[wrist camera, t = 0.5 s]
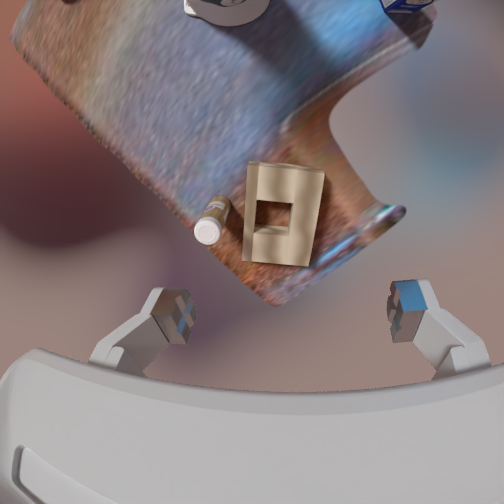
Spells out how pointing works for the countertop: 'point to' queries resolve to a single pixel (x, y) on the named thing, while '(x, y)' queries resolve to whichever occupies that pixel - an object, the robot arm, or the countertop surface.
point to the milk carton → (404, 5)
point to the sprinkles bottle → (212, 220)
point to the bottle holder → (300, 220)
